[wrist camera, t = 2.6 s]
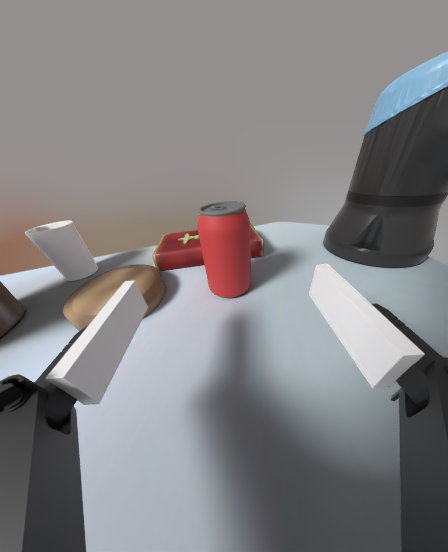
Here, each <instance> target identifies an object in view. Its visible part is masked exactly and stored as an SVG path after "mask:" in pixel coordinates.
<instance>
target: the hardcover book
mask: <svg viewBox="0 0 448 552" xmlns="http://www.w3.org/2000/svg"><path fill="white" fill-rule="evenodd" d="M250 250H251V258H257V257H263V254H264V240H263V239H262V237H261V236H260V235H259V234H258V232H257V231H256V230H255V228H254V227H253V226H252V225H251V223H250ZM152 256H153V260H154V263H155V266H156V268H157V269H158V270H159V271H166V270H173V269H180V268H187V267H194V266H201V265H205V264H204V259H203V253H202V248H201V243H200V238H199V233H198V229H194V230H187V231H180V232H173V233H165V234H164V235H163V237H162V239H161V241H160V242H159V244H158V246H157V248H156V250H155V251H154V253H153V255H152Z"/></svg>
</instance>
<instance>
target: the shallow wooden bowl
mask: <svg viewBox="0 0 448 552" xmlns="http://www.w3.org/2000/svg"><path fill="white" fill-rule="evenodd" d="M125 281H135V282H136V284H137V286H138V288H139V290H140V292H141V294H142V296H143V298H144V300H145V302H146V304H147V306H148V309H147V311H146V313H145V314H144V316H143V318H144V317H145V316H147V315H148V314H149V313H150V312H152V311H153V310H154V309H155V308H156V307H157V305H158V304H159V303H160V302H161V300H162V298H163V296H164V294H165V284H164V282H163V279H162V277H161V274H160V272H159V270H158V269H157V268H155V267H153V266H150V265H130V266H125V267H121V268H118V269H114V270H111V271H109V272H106V273H104V274H102V275H99V276H97V277H95V278H93V279H92V280H90V281H88V282H87V283H85V284H84V285H82V286H81V287H79V288H78V289H77V290H76V291H75V292H74V293H73V294H72V295H71V296H70V297H69V298H68V299H67V301H66V302H65V305H64V308H63V313H64V316H65V317H66V318H67V319H68V320H69V321H70V322H71V323H72V324H73V325H74V326H75V327H76V328H77V329H78V330H79V331H81V330H82V329H83V328H84V327H88V326H89V324H90V323H91V322H92V321H93V320H94V318H95V317H96V316H97V315H98V313H99V312H100V311H101V310H102V309H103V307H104V306H105V305H106V304H107V302H108V301H109V300H110V299H111V298H112V296H113V295H114V294H115V293H116V291H117V290H118V289H119V288H120V287H121V285H122V284H123V283H124V282H125Z"/></svg>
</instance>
